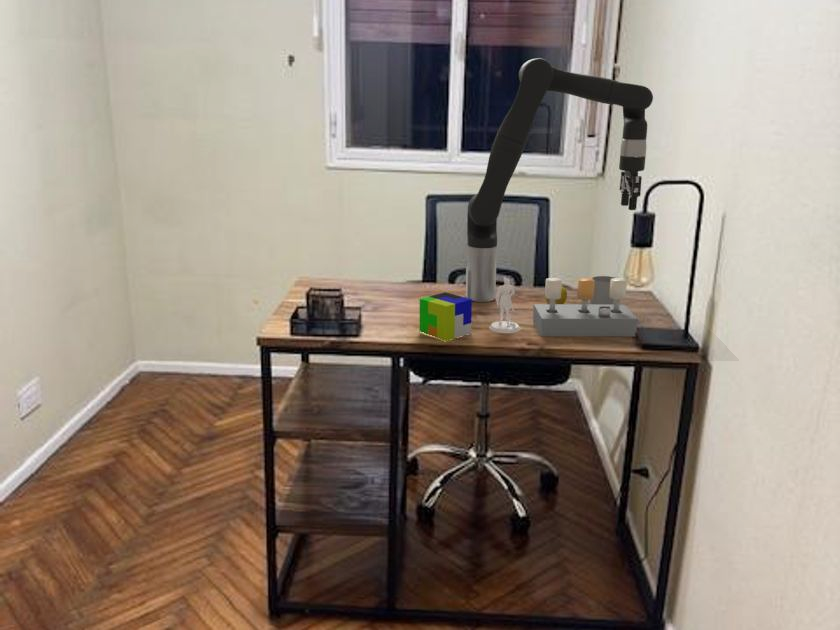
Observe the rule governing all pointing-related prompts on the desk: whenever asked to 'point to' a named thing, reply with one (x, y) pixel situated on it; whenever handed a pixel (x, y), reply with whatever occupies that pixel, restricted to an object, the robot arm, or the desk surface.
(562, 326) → the panel
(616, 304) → the knob right
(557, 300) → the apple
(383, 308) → the desk surface
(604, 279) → the cup
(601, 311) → the dial
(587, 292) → the knob middle
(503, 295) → the figurine
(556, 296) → the knob left
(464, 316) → the puzzle toy
